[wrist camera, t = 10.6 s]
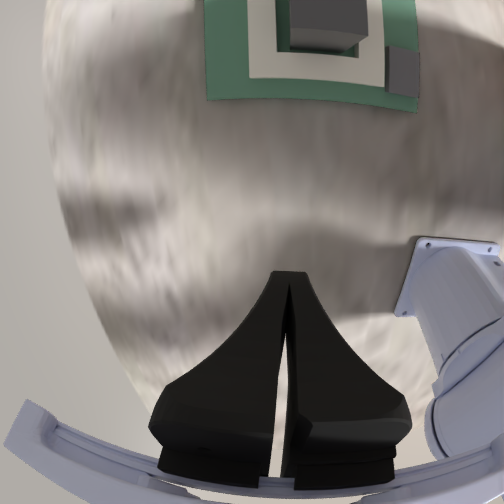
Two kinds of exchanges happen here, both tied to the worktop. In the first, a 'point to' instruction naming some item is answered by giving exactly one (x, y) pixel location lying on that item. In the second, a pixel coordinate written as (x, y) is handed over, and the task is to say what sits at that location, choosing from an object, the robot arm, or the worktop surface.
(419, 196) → the worktop surface
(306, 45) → the plug
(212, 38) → the board
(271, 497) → the robot arm
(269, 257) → the worktop surface
